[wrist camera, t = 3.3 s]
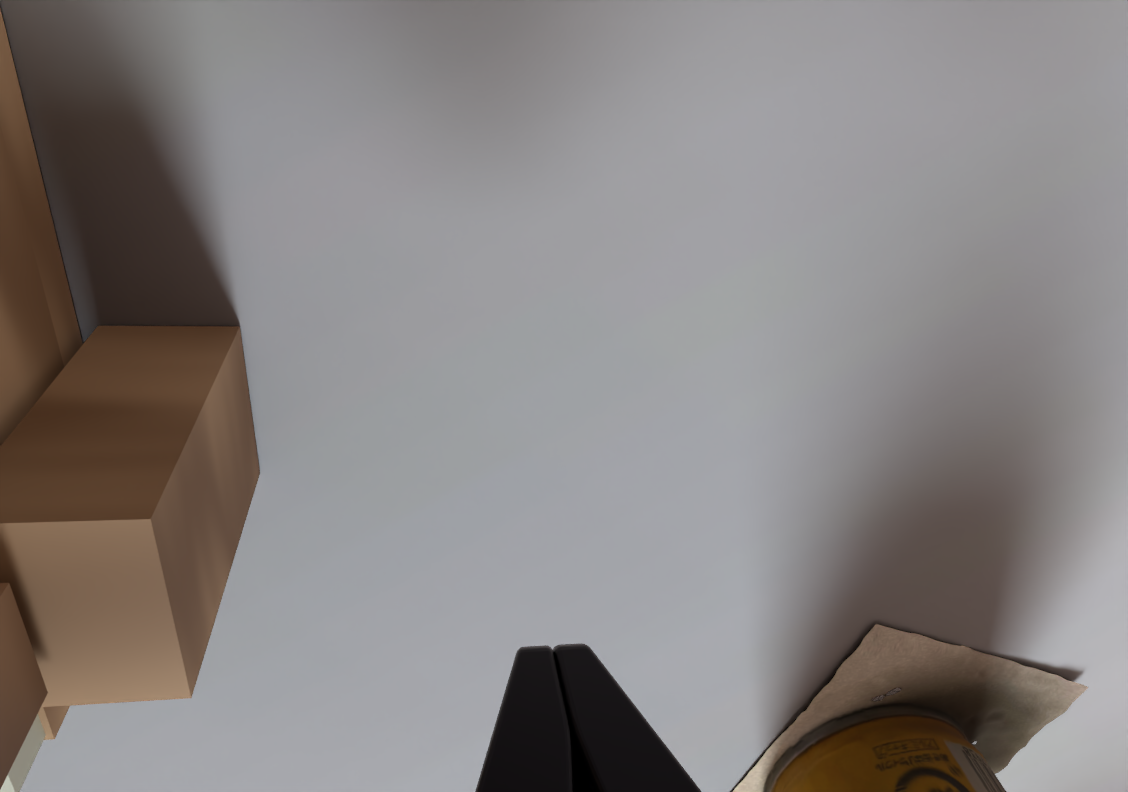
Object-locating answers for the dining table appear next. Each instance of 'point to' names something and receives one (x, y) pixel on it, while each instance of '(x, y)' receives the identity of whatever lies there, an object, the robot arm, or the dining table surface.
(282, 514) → the dining table surface
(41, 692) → the brown wooden bar
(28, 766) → the lid
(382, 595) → the dining table surface
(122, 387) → the brown shallow open box
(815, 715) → the yellow can
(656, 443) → the dining table surface
